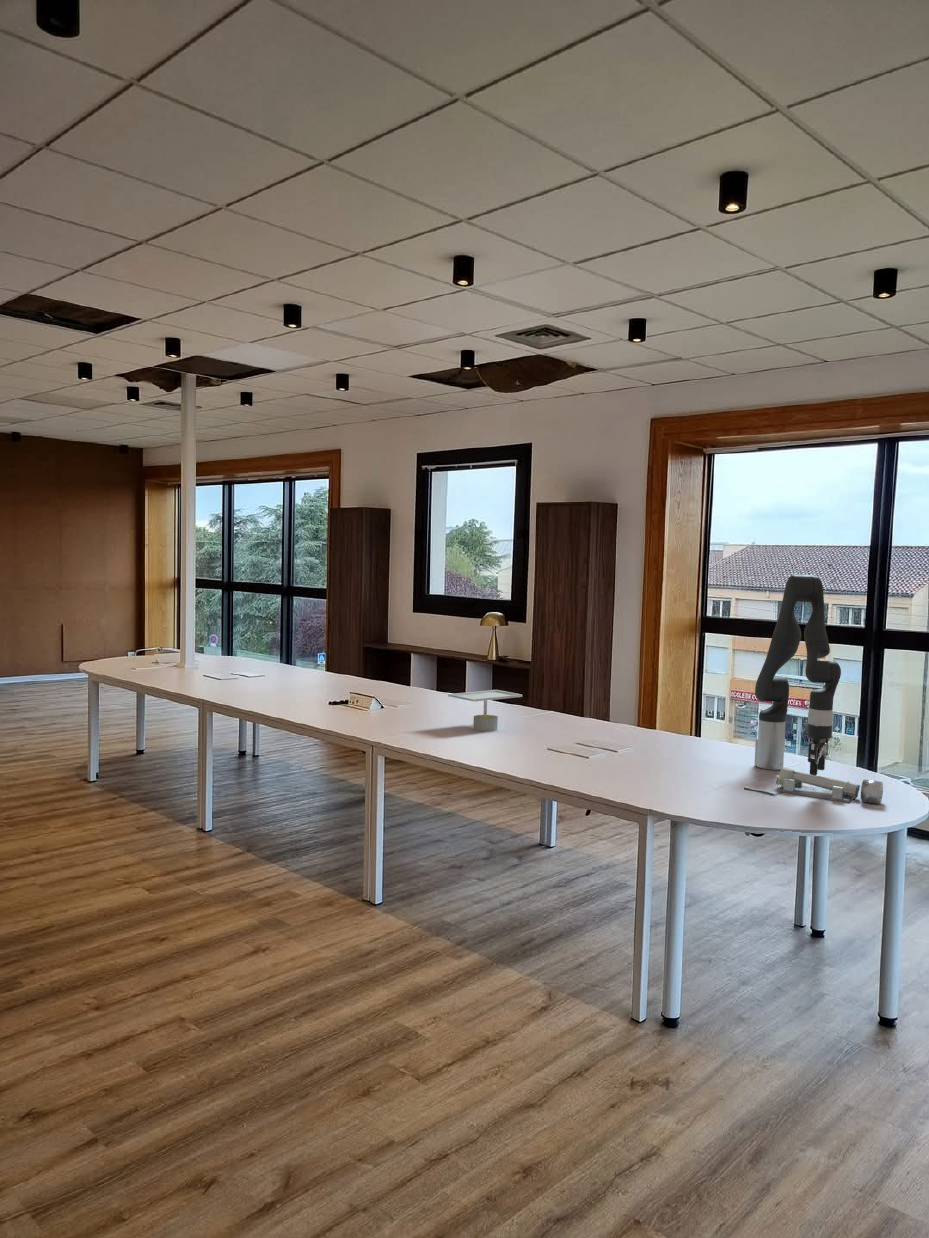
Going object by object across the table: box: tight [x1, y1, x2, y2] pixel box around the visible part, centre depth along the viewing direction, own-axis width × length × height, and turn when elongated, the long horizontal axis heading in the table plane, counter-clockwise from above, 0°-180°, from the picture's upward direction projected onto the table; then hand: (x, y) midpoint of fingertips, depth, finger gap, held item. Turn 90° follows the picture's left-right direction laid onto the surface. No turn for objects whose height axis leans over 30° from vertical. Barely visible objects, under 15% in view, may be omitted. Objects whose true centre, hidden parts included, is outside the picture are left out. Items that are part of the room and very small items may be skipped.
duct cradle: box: [776, 778, 884, 805], centre depth 293 cm, size 30×10×7 cm, turn 54°
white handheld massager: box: [775, 766, 861, 798], centre depth 296 cm, size 5×7×25 cm
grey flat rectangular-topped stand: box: [447, 689, 523, 732], centre depth 395 cm, size 28×17×15 cm, turn 129°
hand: (817, 772), depth 296 cm, fingers open, 8 cm apart
